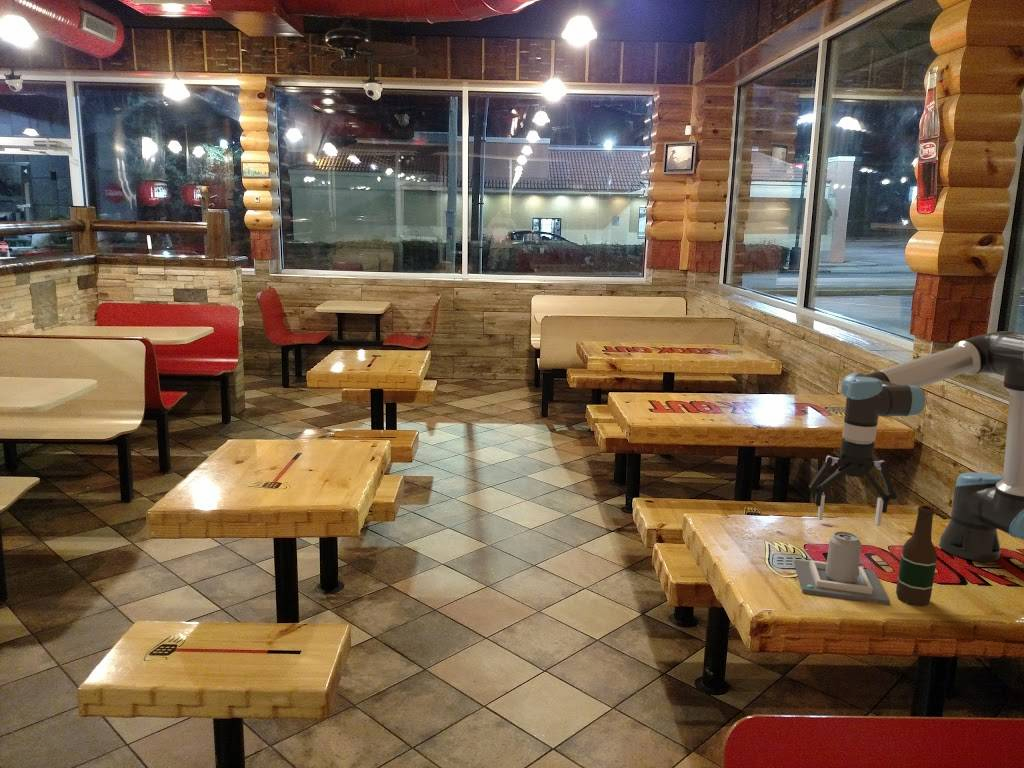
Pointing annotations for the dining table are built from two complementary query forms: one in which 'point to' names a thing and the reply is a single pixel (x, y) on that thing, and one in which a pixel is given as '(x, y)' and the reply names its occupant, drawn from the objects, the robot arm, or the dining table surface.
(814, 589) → the dock
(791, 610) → the dining table surface
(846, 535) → the can
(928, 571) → the beer bottle
